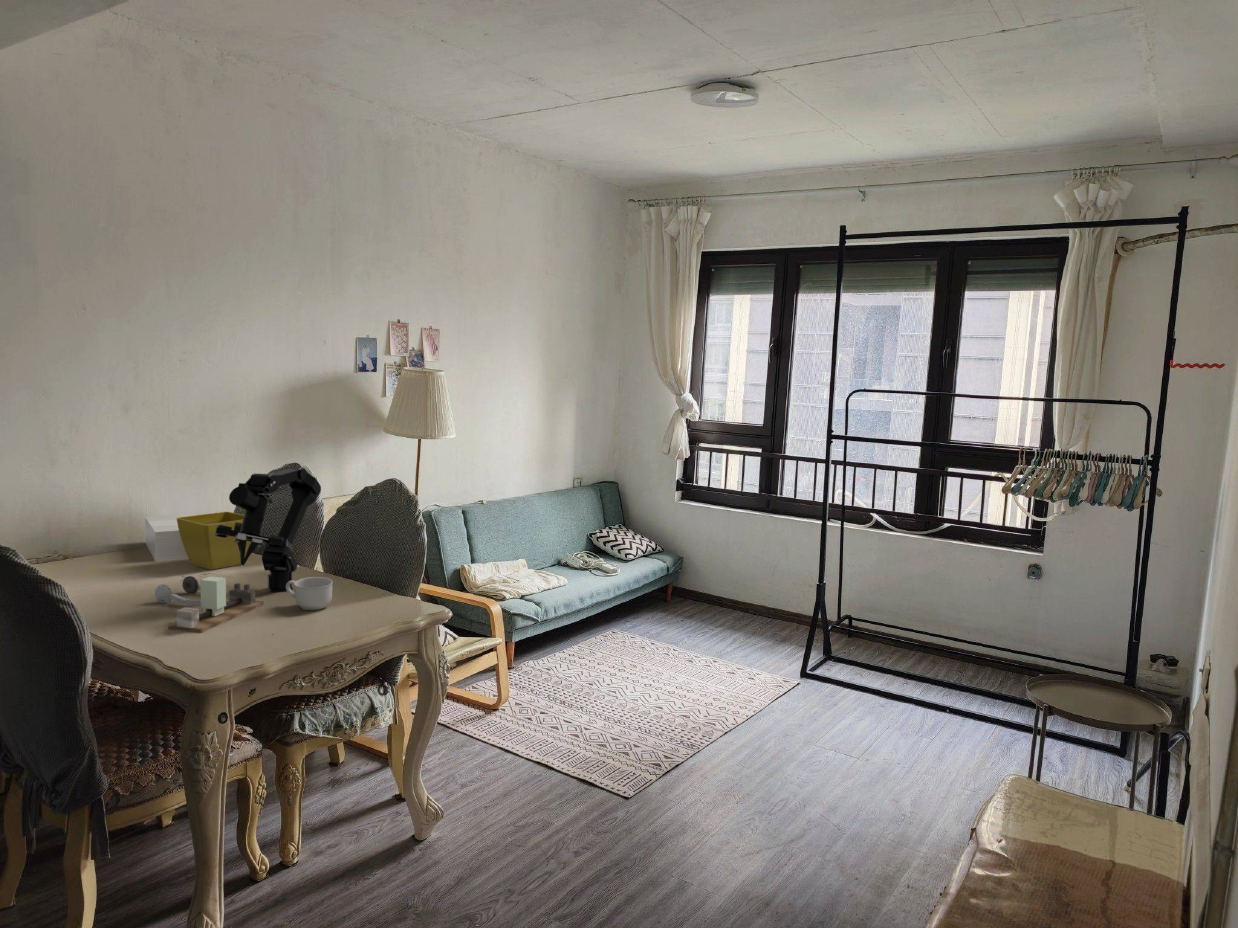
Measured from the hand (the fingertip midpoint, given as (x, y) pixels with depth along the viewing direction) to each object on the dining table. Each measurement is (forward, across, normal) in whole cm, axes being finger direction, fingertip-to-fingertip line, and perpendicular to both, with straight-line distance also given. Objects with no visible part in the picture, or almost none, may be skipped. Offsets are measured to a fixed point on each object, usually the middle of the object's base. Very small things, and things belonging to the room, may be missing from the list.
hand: (242, 565), depth 251 cm
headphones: (+11, +11, -18) cm, 23 cm away
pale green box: (+15, +5, +6) cm, 17 cm away
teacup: (+9, -21, +4) cm, 23 cm away
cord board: (+16, +3, +4) cm, 17 cm away
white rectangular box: (-10, +20, -84) cm, 86 cm away
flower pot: (-5, +3, -57) cm, 57 cm away
